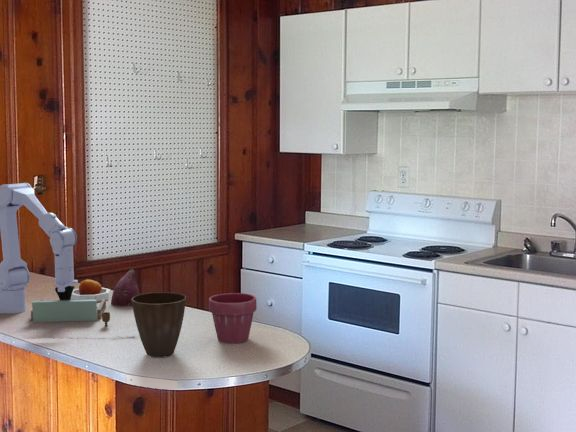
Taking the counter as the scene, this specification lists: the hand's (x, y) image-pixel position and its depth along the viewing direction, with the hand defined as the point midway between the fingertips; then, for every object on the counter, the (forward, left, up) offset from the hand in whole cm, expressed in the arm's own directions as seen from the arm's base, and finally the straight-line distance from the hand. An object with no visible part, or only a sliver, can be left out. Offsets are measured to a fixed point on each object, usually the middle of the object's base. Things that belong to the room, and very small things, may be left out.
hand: (65, 309), depth 250 cm
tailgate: (0, 0, -4) cm, 4 cm away
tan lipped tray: (0, +9, -5) cm, 10 cm away
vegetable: (+17, +23, -5) cm, 29 cm away
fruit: (+3, +37, -5) cm, 37 cm away
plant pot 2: (+52, -23, -5) cm, 57 cm away
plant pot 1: (+31, -35, -5) cm, 47 cm away
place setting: (+24, -6, -6) cm, 26 cm away
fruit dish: (+3, +37, -5) cm, 37 cm away
